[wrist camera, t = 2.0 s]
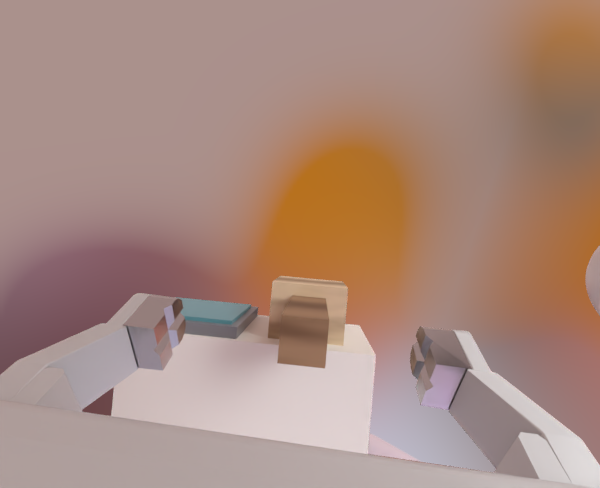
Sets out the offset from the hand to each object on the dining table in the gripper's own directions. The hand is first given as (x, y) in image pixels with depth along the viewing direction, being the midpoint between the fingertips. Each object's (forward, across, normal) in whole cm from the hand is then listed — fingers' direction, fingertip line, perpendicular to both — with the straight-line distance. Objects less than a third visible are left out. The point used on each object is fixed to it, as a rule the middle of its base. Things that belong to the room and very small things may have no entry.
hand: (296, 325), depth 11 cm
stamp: (+15, 0, +16) cm, 22 cm away
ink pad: (+19, +13, +19) cm, 30 cm away
